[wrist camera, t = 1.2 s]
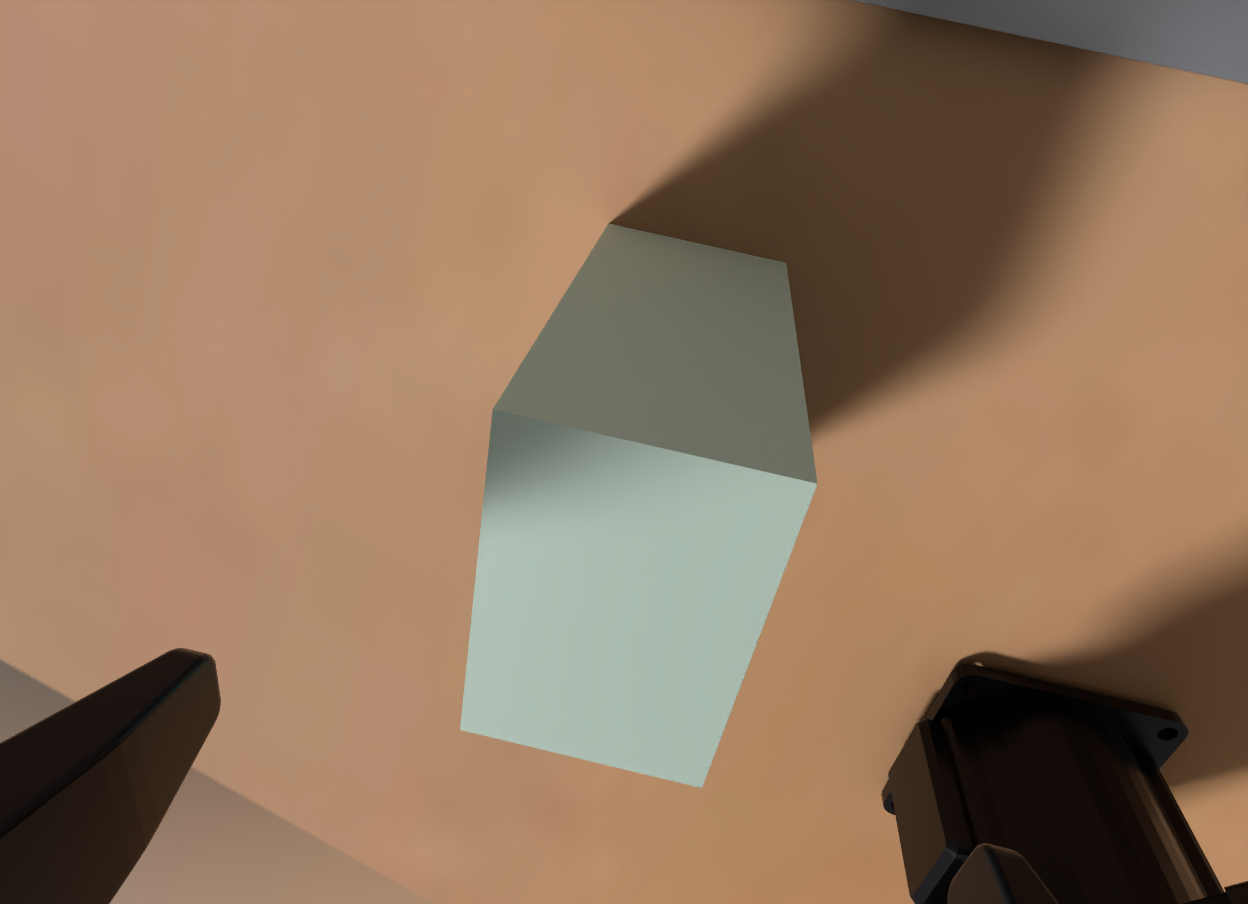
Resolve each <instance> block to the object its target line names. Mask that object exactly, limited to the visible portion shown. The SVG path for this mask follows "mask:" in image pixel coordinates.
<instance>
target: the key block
mask: <svg viewBox="0 0 1248 904" xmlns="http://www.w3.org/2000/svg"><path fill="white" fill-rule="evenodd" d="M816 486H817V478H816V471H815V463H814V456H813V449H812V442H811V435H810V428H809V421H808V414H807V407H806V399H805V392H804V385H803V378H802V371H801V364H800V357H799V350H798V342H797V335H796V328H795V321H794V314H793V307H792V300H791V293H790V285H789V278H788V271H787V264H786V263H785V262H781V261H776V260H772V259H767V258H763V257H758V256H754V255H749V254H745V253H740V252H736V251H731V250H727V249H722V248H718V247H713V246H709V245H704V244H700V243H695V242H691V241H686V240H682V239H677V238H673V237H668V236H663V235H659V234H654V233H650V232H645V231H641V230H636V229H632V228H627V227H623V226H618V225H614V224H608V225H607V227H606V229H605V230H604V232H603V233H602V235H601V237H600V238H599V240H598V242H597V243H596V245H595V246H594V248H593V250H592V251H591V253H590V254H589V256H588V258H587V259H586V261H585V262H584V264H583V266H582V267H581V269H580V270H579V272H578V274H577V275H576V277H575V278H574V280H573V282H572V283H571V285H570V286H569V288H568V290H567V291H566V293H565V294H564V296H563V298H562V299H561V301H560V302H559V304H558V306H557V307H556V309H555V310H554V312H553V314H552V315H551V317H550V318H549V320H548V322H547V323H546V325H545V327H544V328H543V330H542V331H541V333H540V335H539V336H538V338H537V339H536V341H535V343H534V344H533V346H532V347H531V349H530V351H529V352H528V354H527V355H526V357H525V359H524V360H523V362H522V363H521V365H520V367H519V368H518V370H517V371H516V373H515V375H514V376H513V378H512V379H511V381H510V383H509V384H508V386H507V387H506V389H505V391H504V392H503V394H502V395H501V397H500V399H499V400H498V402H497V403H496V405H495V407H494V408H493V412H492V422H491V432H490V442H489V452H488V461H487V471H486V481H485V491H484V501H483V510H482V520H481V530H480V540H479V550H478V559H477V569H476V579H475V589H474V599H473V608H472V618H471V628H470V638H469V648H468V657H467V667H466V677H465V687H464V697H463V706H462V716H461V726H460V730H463V731H467V732H471V733H475V734H480V735H484V736H488V737H492V738H496V739H500V740H504V741H509V742H513V743H517V744H521V745H525V746H529V747H534V748H538V749H542V750H546V751H550V752H554V753H558V754H563V755H567V756H571V757H575V758H579V759H583V760H588V761H592V762H596V763H600V764H604V765H608V766H612V767H617V768H621V769H625V770H629V771H633V772H637V773H642V774H646V775H650V776H654V777H658V778H662V779H666V780H671V781H675V782H679V783H683V784H687V785H691V786H695V787H700V788H702V786H703V784H704V781H705V778H706V776H707V773H708V770H709V768H710V765H711V763H712V760H713V757H714V755H715V752H716V749H717V747H718V744H719V741H720V739H721V736H722V734H723V731H724V728H725V726H726V723H727V720H728V718H729V715H730V713H731V710H732V707H733V705H734V702H735V699H736V697H737V694H738V691H739V689H740V686H741V684H742V681H743V678H744V676H745V673H746V670H747V668H748V665H749V662H750V660H751V657H752V655H753V652H754V649H755V647H756V644H757V641H758V639H759V636H760V633H761V631H762V628H763V626H764V623H765V620H766V618H767V615H768V612H769V610H770V607H771V605H772V602H773V599H774V597H775V594H776V591H777V589H778V586H779V583H780V581H781V578H782V576H783V573H784V570H785V568H786V565H787V562H788V560H789V557H790V554H791V552H792V549H793V547H794V544H795V541H796V539H797V536H798V533H799V531H800V528H801V525H802V523H803V520H804V518H805V515H806V512H807V510H808V507H809V504H810V502H811V499H812V497H813V494H814V491H815V489H816Z"/></svg>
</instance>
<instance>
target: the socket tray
mask: <svg viewBox="0 0 1248 904" xmlns="http://www.w3.org/2000/svg"><path fill="white" fill-rule="evenodd" d="M852 1H857V2H861V3H866V4H871V5H876V6H880V7H885V8H890V9H895V10H899V11H904V12H909V13H914V14H918V15H923V16H928V17H932V18H937V19H942V20H947V21H951V22H956V23H961V24H966V25H970V26H975V27H980V28H984V29H989V30H994V31H999V32H1003V33H1008V34H1013V35H1018V36H1022V37H1027V38H1032V39H1037V40H1041V41H1046V42H1051V43H1055V44H1060V45H1065V46H1070V47H1074V48H1079V49H1084V50H1089V51H1093V52H1098V53H1103V54H1107V55H1112V56H1117V57H1122V58H1126V59H1131V60H1136V61H1141V62H1145V63H1150V64H1155V65H1160V66H1164V67H1169V68H1174V69H1178V70H1183V71H1188V72H1193V73H1197V74H1202V75H1207V76H1212V77H1216V78H1221V79H1226V80H1231V81H1235V82H1240V83H1245V84H1248V0H852Z"/></svg>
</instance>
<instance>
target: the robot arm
mask: <svg viewBox="0 0 1248 904" xmlns="http://www.w3.org/2000/svg"><path fill="white" fill-rule="evenodd" d="M970 681H973V683H970V684H968V683H967V682H970ZM220 704H221V698H220V691H219V684H218V677H217V670H216V663H215V660H214V659H213V657H212V656H211V655H209V654H206V653H202V652H198V651H194V650H190V649H185V648H177V649H174V650H171V651H168V652H166V653H165V654H163V655H161V656H159V657H157V658H155V659H154V660H152V661H150V662H148V663H146V664H144V665H143V666H141V667H139V668H137V669H135V670H133V671H132V672H130V673H128V674H126V675H124V676H122V677H121V678H119V679H117V680H115V681H113V682H111V683H110V684H108V685H106V686H104V687H102V688H100V689H99V690H97V691H95V692H93V693H91V694H89V695H88V696H86V697H84V698H82V699H80V700H78V701H77V702H75V703H73V704H71V705H69V706H68V707H66V708H64V709H62V710H60V711H58V712H56V713H55V714H53V715H51V716H49V717H47V718H45V719H44V720H42V721H40V722H38V723H36V724H35V725H33V726H31V727H29V728H27V729H25V730H24V731H22V732H20V733H18V734H16V735H14V736H13V737H11V738H9V739H7V740H5V741H3V742H1V743H0V904H109V903H110V902H111V900H112V899H113V898H114V896H115V895H116V893H117V892H118V890H119V889H120V887H121V886H122V884H123V883H124V881H125V880H126V878H127V877H128V875H129V874H130V872H131V871H132V869H133V868H134V866H135V865H136V863H137V862H138V860H139V859H140V857H141V855H142V854H143V852H144V851H145V849H146V848H147V846H148V844H149V843H150V841H151V839H152V837H153V836H154V834H155V832H156V830H157V829H158V827H159V825H160V823H161V821H162V819H163V818H164V816H165V814H166V812H167V810H168V808H169V806H170V805H171V803H172V801H173V799H174V797H175V795H176V794H177V792H178V790H179V788H180V786H181V784H182V782H183V780H184V779H185V777H186V775H187V773H188V771H189V770H190V768H191V766H192V764H193V762H194V760H195V759H196V757H197V755H198V753H199V751H200V749H201V747H202V746H203V744H204V742H205V740H206V738H207V736H208V735H209V733H210V731H211V729H212V727H213V725H214V723H215V721H216V719H217V717H218V714H219V710H220ZM1187 735H1188V729H1187V727H1186V725H1185V724H1184V722H1183V720H1182V719H1181V717H1180V716H1179V715H1178V714H1177V713H1175V712H1173V711H1170V710H1166V709H1161V708H1157V707H1153V706H1148V705H1144V704H1140V703H1136V702H1131V701H1127V700H1123V699H1119V698H1114V697H1110V696H1106V695H1102V694H1097V693H1093V692H1089V691H1085V690H1080V689H1076V688H1072V687H1067V686H1063V685H1059V684H1055V683H1050V682H1046V681H1042V680H1038V679H1033V678H1029V677H1025V676H1021V675H1016V674H1012V673H1008V672H1003V671H999V670H995V669H991V668H986V667H982V666H978V665H971V664H967V665H962V666H959V667H957V668H955V669H954V670H953V671H952V672H951V674H950V675H949V677H948V679H947V680H946V682H945V684H944V686H943V687H942V689H941V691H940V692H939V694H938V696H937V698H936V699H935V701H934V703H933V704H932V706H931V708H930V710H929V711H928V713H927V715H926V716H925V718H923V719H922V720H921V721H920V722H918V723H917V724H916V726H915V727H914V729H913V731H912V733H911V734H910V736H909V738H908V740H907V741H906V743H905V745H904V747H903V748H902V750H901V752H900V753H899V755H898V757H897V759H896V760H895V762H894V764H893V766H892V767H891V769H890V771H889V774H888V776H889V780H888V782H887V783H886V785H885V787H884V789H883V790H882V794H881V795H882V801H883V806H884V808H885V810H886V811H887V812H889V813H891V814H894V815H896V821H897V826H898V832H899V838H900V843H901V849H902V854H903V860H904V866H905V871H906V877H907V882H908V888H909V893H910V897H911V898H912V900H913V902H914V903H915V904H1248V881H1246V882H1242V883H1238V884H1234V885H1231V886H1227V887H1224V888H1225V891H1226V892H1224V890H1223V888H1222V887H1221V885H1220V883H1219V881H1218V879H1217V877H1216V875H1215V873H1214V871H1213V870H1212V868H1211V866H1210V864H1209V862H1208V860H1207V858H1206V856H1205V855H1204V853H1203V851H1202V849H1201V847H1200V845H1199V843H1198V841H1197V840H1196V838H1195V836H1194V834H1193V832H1192V830H1191V828H1190V826H1189V824H1188V823H1187V821H1186V819H1185V817H1184V815H1183V813H1182V811H1181V809H1180V808H1179V806H1178V804H1177V802H1176V800H1175V798H1174V796H1173V794H1172V793H1171V791H1170V789H1169V787H1168V785H1167V783H1166V781H1165V779H1164V777H1163V776H1162V774H1161V772H1160V770H1159V768H1160V767H1161V766H1162V765H1163V764H1164V763H1165V761H1166V760H1167V759H1168V758H1169V757H1170V756H1171V755H1172V753H1173V752H1174V751H1175V750H1176V749H1177V748H1178V747H1179V745H1180V744H1181V743H1182V742H1183V741H1184V740H1185V738H1186V737H1187Z"/></svg>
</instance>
